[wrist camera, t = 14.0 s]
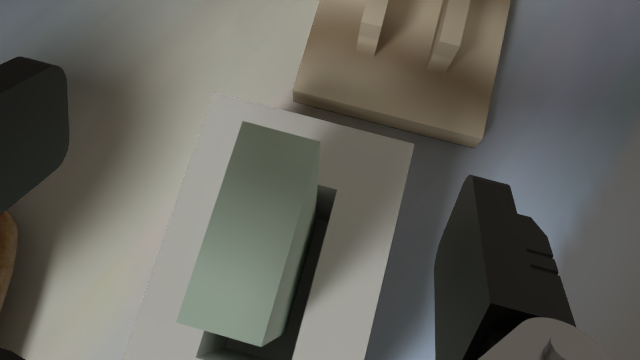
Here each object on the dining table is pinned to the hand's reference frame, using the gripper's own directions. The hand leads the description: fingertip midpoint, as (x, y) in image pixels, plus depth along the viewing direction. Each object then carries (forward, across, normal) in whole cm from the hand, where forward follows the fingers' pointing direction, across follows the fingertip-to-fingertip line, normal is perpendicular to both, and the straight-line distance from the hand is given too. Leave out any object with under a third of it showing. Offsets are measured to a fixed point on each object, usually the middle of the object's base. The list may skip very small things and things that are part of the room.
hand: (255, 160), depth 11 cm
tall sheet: (+11, 0, +12) cm, 16 cm away
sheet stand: (+11, 0, +13) cm, 17 cm away
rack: (+24, -3, +1) cm, 24 cm away
